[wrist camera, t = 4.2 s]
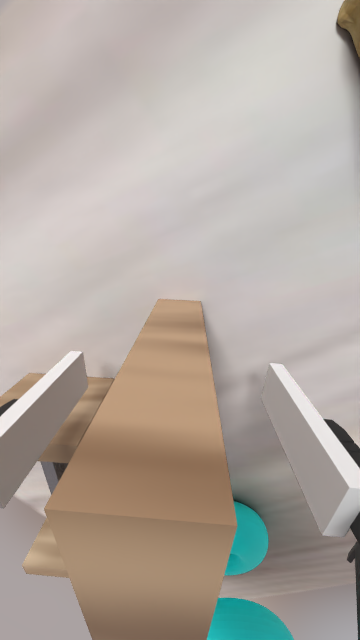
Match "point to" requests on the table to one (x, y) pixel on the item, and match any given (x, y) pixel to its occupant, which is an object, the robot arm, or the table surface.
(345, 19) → the rock
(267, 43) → the table surface
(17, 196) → the table surface
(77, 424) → the frame posts
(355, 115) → the table surface
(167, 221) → the table surface
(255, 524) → the donuts
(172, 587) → the door panel
